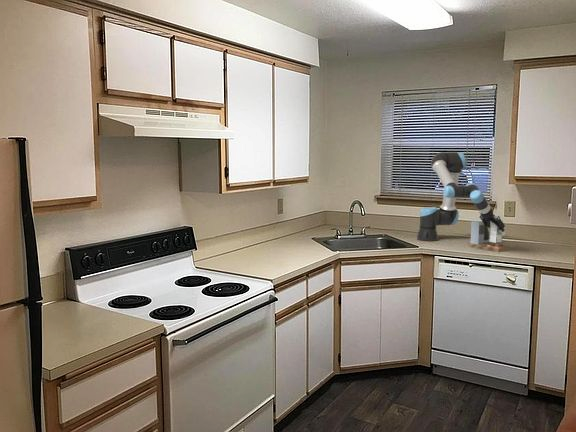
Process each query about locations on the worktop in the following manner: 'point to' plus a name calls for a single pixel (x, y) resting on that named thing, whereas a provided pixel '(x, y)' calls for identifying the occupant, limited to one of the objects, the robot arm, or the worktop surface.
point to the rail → (490, 247)
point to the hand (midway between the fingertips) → (499, 233)
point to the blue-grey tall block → (477, 232)
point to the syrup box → (494, 233)
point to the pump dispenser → (486, 235)
